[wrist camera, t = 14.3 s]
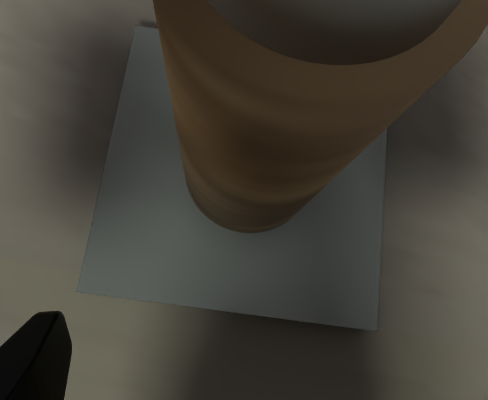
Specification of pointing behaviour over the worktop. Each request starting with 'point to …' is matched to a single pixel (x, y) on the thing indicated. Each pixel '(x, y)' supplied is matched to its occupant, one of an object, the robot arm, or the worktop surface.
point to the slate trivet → (221, 239)
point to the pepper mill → (296, 90)
